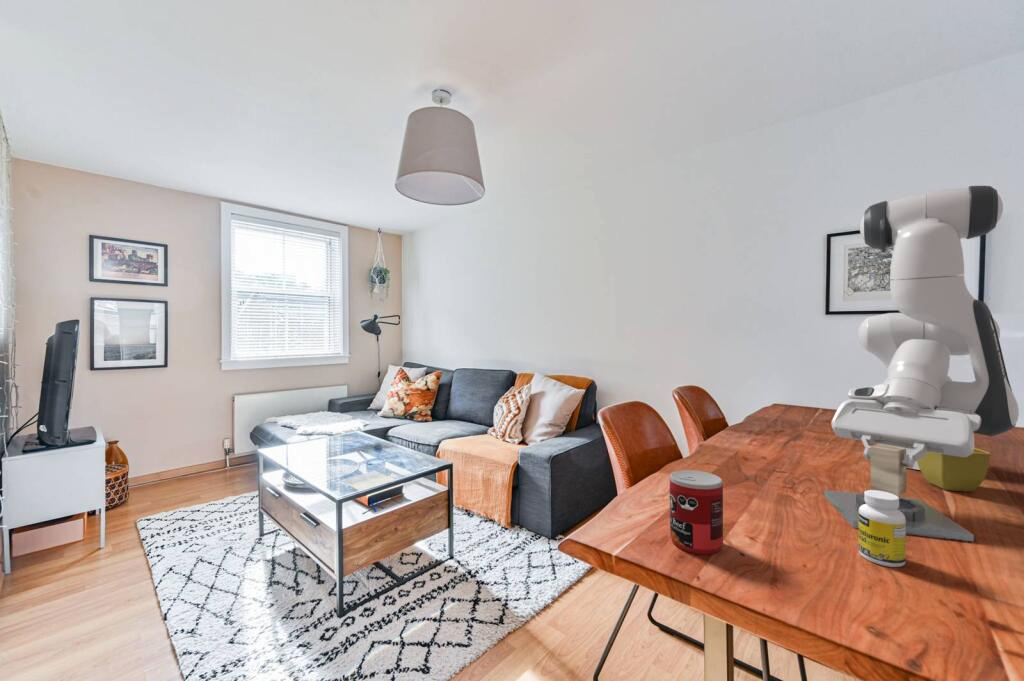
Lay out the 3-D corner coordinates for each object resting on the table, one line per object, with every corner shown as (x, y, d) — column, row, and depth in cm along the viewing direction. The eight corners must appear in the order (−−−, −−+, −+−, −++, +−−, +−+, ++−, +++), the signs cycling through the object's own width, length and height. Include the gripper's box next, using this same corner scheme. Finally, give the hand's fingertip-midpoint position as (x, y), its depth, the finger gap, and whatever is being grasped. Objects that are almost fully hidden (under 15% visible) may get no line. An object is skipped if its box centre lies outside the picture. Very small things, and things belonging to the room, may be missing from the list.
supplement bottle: (849, 552, 67) (849, 490, 67) (875, 547, 68) (875, 486, 68) (888, 571, 62) (888, 503, 62) (915, 565, 63) (915, 498, 63)
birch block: (879, 485, 82) (879, 443, 82) (906, 491, 79) (906, 448, 79) (870, 489, 80) (870, 446, 80) (898, 496, 77) (898, 451, 77)
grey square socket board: (823, 495, 90) (823, 482, 90) (920, 505, 85) (920, 491, 85) (853, 527, 75) (853, 512, 75) (973, 542, 70) (973, 525, 70)
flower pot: (992, 496, 89) (992, 452, 89) (942, 493, 90) (942, 451, 90) (957, 482, 97) (957, 442, 97) (912, 480, 99) (912, 441, 99)
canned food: (663, 533, 75) (663, 469, 74) (710, 533, 74) (710, 469, 74) (679, 555, 67) (679, 485, 67) (732, 555, 67) (731, 485, 66)
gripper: (986, 422, 77) (971, 488, 72) (849, 407, 94) (829, 459, 89) (980, 400, 74) (963, 465, 69) (840, 388, 92) (819, 440, 87)
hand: (886, 461), depth 79 cm, fingers closed on birch block, 4 cm apart
